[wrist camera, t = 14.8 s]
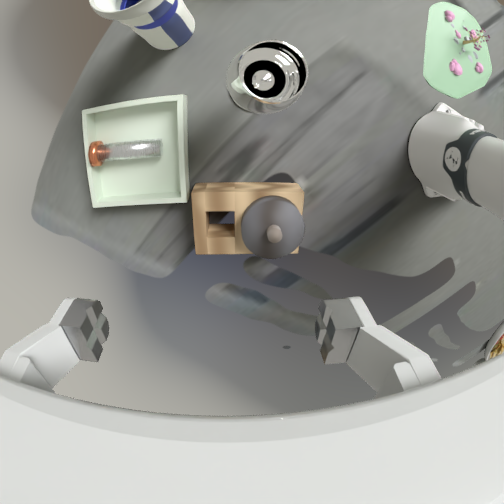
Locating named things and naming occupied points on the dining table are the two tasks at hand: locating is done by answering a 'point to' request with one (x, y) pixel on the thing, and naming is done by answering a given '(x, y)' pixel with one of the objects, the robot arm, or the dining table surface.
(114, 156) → the lock pin
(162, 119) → the tray
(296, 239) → the block
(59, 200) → the dining table surface
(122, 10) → the water bottle
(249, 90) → the wineglass
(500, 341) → the plate of food
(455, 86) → the plant
